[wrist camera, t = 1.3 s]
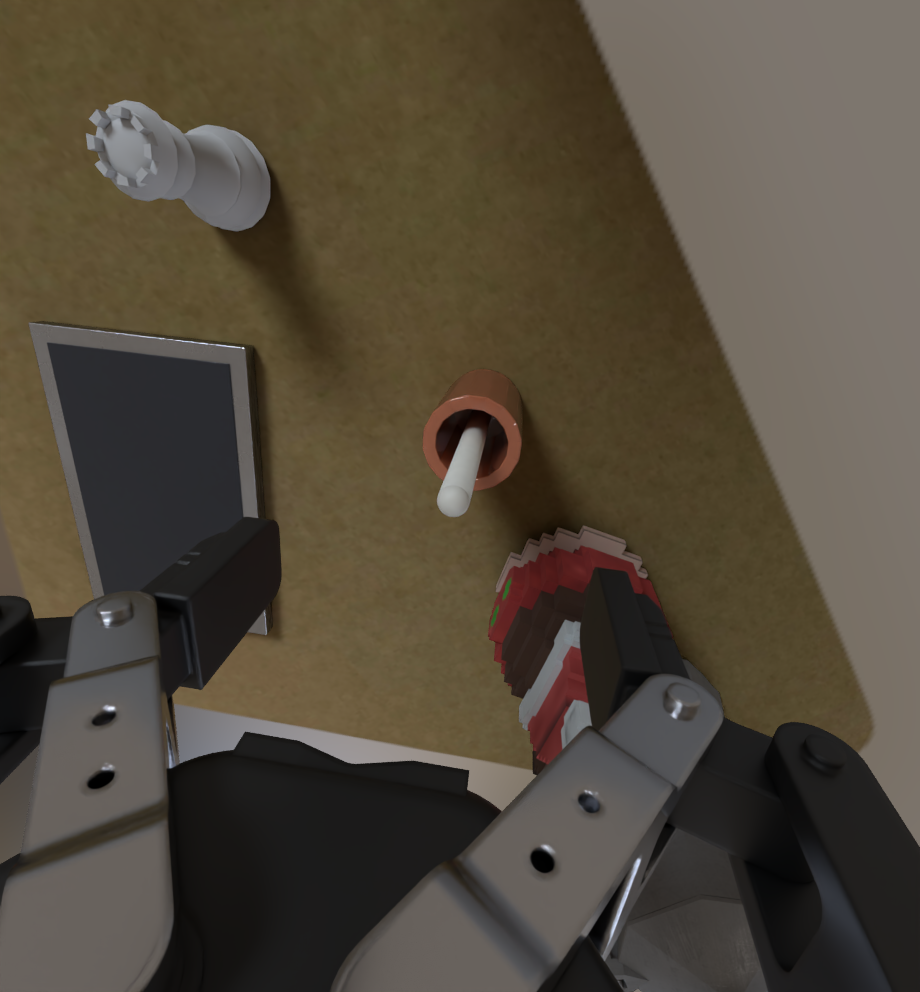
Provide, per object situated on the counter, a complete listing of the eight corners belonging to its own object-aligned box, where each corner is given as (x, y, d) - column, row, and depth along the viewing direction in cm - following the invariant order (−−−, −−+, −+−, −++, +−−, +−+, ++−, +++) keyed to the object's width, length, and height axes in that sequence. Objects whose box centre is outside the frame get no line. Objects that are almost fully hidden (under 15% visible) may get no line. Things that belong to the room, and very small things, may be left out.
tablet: (42, 321, 30) (25, 322, 29) (253, 345, 29) (244, 348, 28) (106, 600, 38) (94, 609, 37) (272, 626, 37) (266, 636, 36)
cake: (603, 670, 35) (670, 1012, 19) (476, 625, 35) (432, 932, 19) (679, 544, 31) (852, 847, 14) (534, 492, 31) (544, 740, 14)
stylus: (473, 399, 28) (435, 489, 16) (493, 402, 28) (469, 494, 16) (471, 418, 29) (433, 520, 17) (491, 421, 29) (466, 524, 17)
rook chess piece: (266, 245, 27) (170, 233, 20) (186, 213, 27) (59, 189, 20) (283, 150, 25) (184, 98, 18) (197, 115, 25) (61, 49, 18)
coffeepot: (735, 629, 33) (944, 983, 16) (759, 734, 36) (957, 1120, 19) (508, 678, 37) (493, 1005, 20) (548, 769, 40) (564, 1117, 23)
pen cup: (448, 364, 28) (426, 390, 22) (527, 373, 28) (528, 402, 22) (442, 440, 30) (419, 484, 24) (516, 449, 30) (513, 496, 23)
